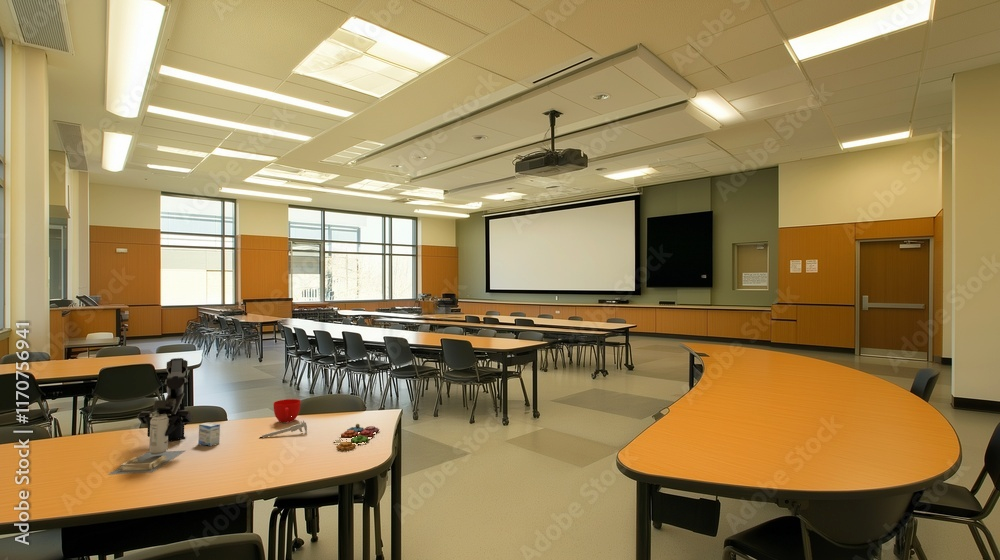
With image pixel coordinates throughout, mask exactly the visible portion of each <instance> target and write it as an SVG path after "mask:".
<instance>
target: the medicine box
mask: <svg viewBox="0 0 1000 560" xmlns="http://www.w3.org/2000/svg"><path fill="white" fill-rule="evenodd" d="M220 435H221V424H219V423H213V422H204V423H201V424H198V445H200V444H202V445H201V446H206V445H208V447H212V445H213V446H216V445H219V444H220V441H221V440H220V439H221V438H220V437H221V436H220ZM215 444H216V445H215Z"/></svg>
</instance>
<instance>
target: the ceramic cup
mask: <svg viewBox="0 0 1000 560" xmlns="http://www.w3.org/2000/svg"><path fill="white" fill-rule="evenodd" d="M301 403H302V401H301V400H300V399H297V398H291V399H289V398H288V399H287V398H285V399H280V400H275V401H274V402H273V404H272V405H273V412H274V413H273V414H274V416H275V418H276V419H277V420H278V422H280V423H281V422H288V423H292V422H294V421H295V420H296V418H297V417H298V416H299V414H300V410H301ZM291 416H292V417H291Z"/></svg>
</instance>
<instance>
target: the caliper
mask: <svg viewBox="0 0 1000 560" xmlns="http://www.w3.org/2000/svg"><path fill="white" fill-rule="evenodd" d="M303 428H304V432H305V433H306V432H307V433H308V431H307V430H308V425H307V422H306V421H305V420H302V421H301V420H300V423H297V424H294V425H290V427H286V428H282V429H280V430H276V431H271V432H268V433H265V434H261V436H259V437H258V439H261V438H260V437H267V438H269V437H268V436H270V437H274V436H277V435H280V434H283V433H287V432H291V433H293V432H296V431H298V430H299V432H300V433H301V432H303Z"/></svg>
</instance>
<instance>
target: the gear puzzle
mask: <svg viewBox="0 0 1000 560" xmlns="http://www.w3.org/2000/svg"><path fill="white" fill-rule="evenodd" d="M379 430H380V428H378V427H375V426H374V425H368V426H366V427H365V428H364V427H362V426H361V425H360V423H356V424H355V426H351V427H349V428H348V429H346V430H345V431H344V432H342V433H340V435H341V437H339V438H338V439H339V440H338V439H335V441H336V442H335V443H340V444H339V445H338V444H337V445H336V449H337V450H340V451H344V450H345V451H349V450H353V449H354V448H356V447H357V446H356V445H355V444H352V443H356V444H358V443H362V442H364V443H365V442H369V441H370V440H369V439H368V437H372V438H373V437H375V436H374V434H373V433H374V432H377V431H379ZM358 432H360V433H359V434H358ZM379 432H380V431H379ZM377 433H378V432H377ZM356 436H357V437H356ZM352 437H354V438H352ZM341 438H352V439H351V442H347V441H346V442H341V440H342V439H341ZM340 439H341V440H340ZM346 440H347V439H346ZM342 441H343V440H342Z"/></svg>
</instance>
